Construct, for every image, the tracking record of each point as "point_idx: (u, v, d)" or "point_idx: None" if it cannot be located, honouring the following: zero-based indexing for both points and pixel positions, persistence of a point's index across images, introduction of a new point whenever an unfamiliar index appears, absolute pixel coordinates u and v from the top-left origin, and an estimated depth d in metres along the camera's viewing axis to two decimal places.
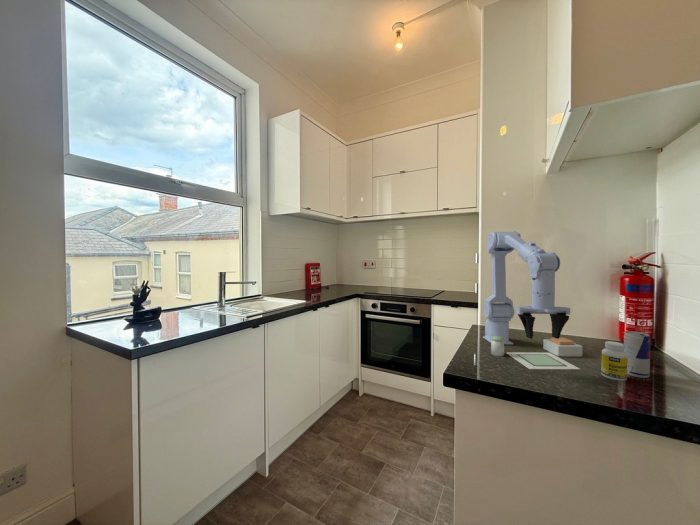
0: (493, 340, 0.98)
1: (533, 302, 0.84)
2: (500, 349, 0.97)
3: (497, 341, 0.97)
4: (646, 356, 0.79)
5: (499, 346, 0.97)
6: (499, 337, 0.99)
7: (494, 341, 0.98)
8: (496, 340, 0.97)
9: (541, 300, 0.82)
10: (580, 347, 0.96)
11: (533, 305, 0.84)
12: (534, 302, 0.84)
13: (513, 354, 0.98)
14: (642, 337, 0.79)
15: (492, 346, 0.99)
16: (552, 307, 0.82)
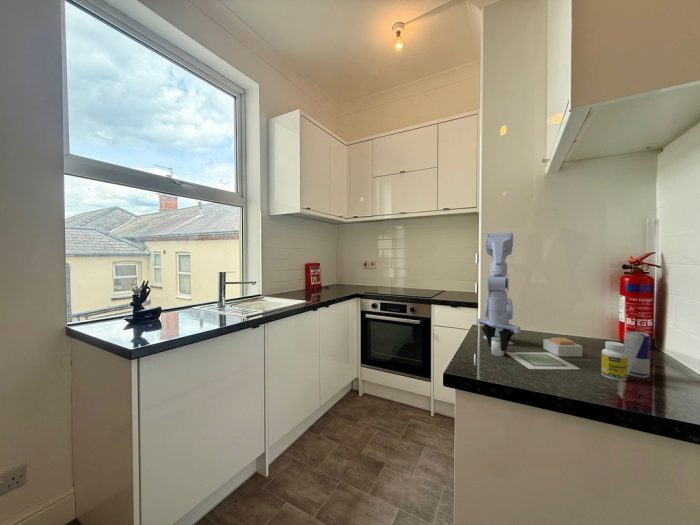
0: (493, 340, 0.98)
1: None
2: (500, 349, 0.97)
3: (497, 341, 0.97)
4: (646, 356, 0.79)
5: (499, 346, 0.97)
6: (499, 337, 0.99)
7: (494, 341, 0.98)
8: (496, 340, 0.97)
9: (489, 315, 0.99)
10: (580, 347, 0.96)
11: None
12: None
13: (513, 354, 0.98)
14: (642, 337, 0.79)
15: (492, 346, 0.99)
16: (496, 323, 0.96)
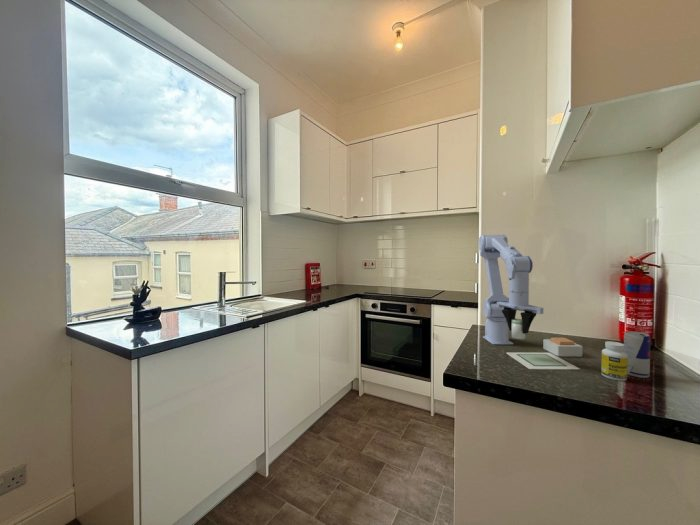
0: (514, 322, 0.95)
1: None
2: (521, 332, 0.93)
3: (518, 323, 0.94)
4: (646, 356, 0.79)
5: (520, 328, 0.93)
6: (520, 320, 0.95)
7: (515, 324, 0.94)
8: (517, 322, 0.94)
9: (509, 297, 0.95)
10: (580, 347, 0.96)
11: None
12: None
13: (513, 354, 0.98)
14: (642, 337, 0.79)
15: (513, 329, 0.95)
16: (517, 304, 0.93)
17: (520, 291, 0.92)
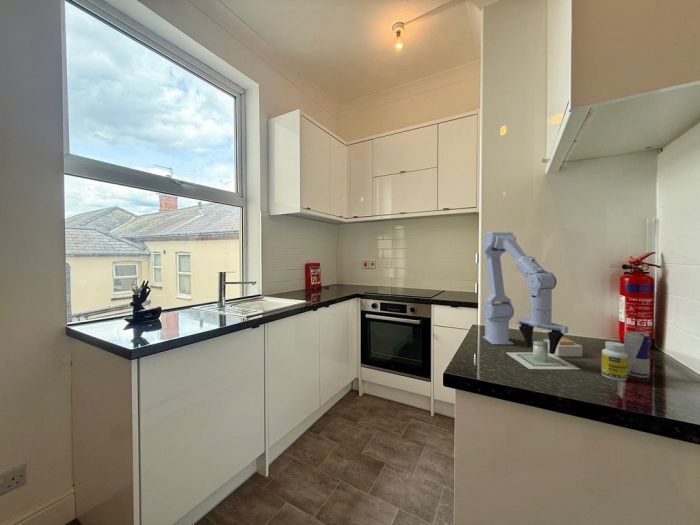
0: (536, 345, 0.92)
1: None
2: (544, 354, 0.90)
3: (541, 346, 0.91)
4: (646, 356, 0.79)
5: (543, 351, 0.90)
6: (542, 341, 0.92)
7: (537, 346, 0.91)
8: (539, 345, 0.91)
9: (531, 315, 0.92)
10: (580, 347, 0.96)
11: None
12: None
13: (513, 354, 0.98)
14: (642, 337, 0.79)
15: (534, 351, 0.92)
16: (540, 322, 0.90)
17: (546, 309, 0.89)
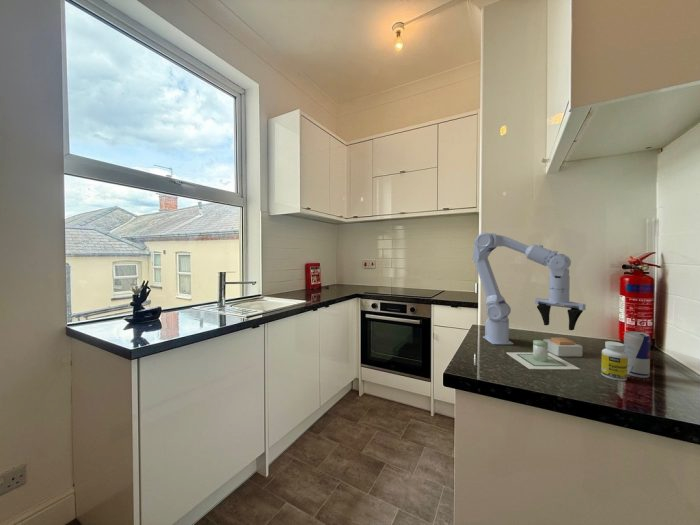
0: (536, 345, 0.92)
1: None
2: (544, 354, 0.90)
3: (541, 346, 0.91)
4: (646, 356, 0.79)
5: (543, 351, 0.90)
6: (542, 341, 0.92)
7: (537, 346, 0.91)
8: (539, 345, 0.91)
9: (550, 294, 0.98)
10: (580, 347, 0.96)
11: None
12: None
13: (513, 354, 0.98)
14: (642, 337, 0.79)
15: (534, 351, 0.92)
16: (559, 301, 0.96)
17: (568, 288, 0.95)
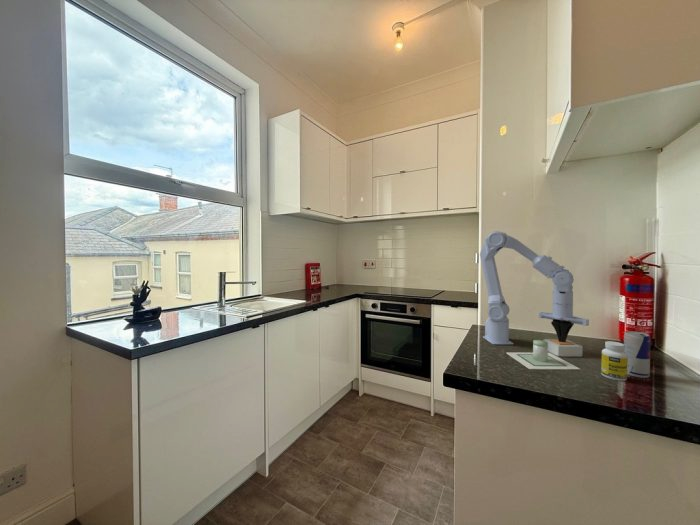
0: (536, 345, 0.92)
1: None
2: (544, 354, 0.90)
3: (541, 346, 0.91)
4: (646, 356, 0.79)
5: (543, 351, 0.90)
6: (542, 341, 0.92)
7: (537, 346, 0.91)
8: (539, 345, 0.91)
9: (554, 309, 1.00)
10: (580, 347, 0.96)
11: None
12: None
13: (513, 354, 0.98)
14: (642, 337, 0.79)
15: (534, 351, 0.92)
16: (562, 316, 0.97)
17: (572, 303, 0.97)
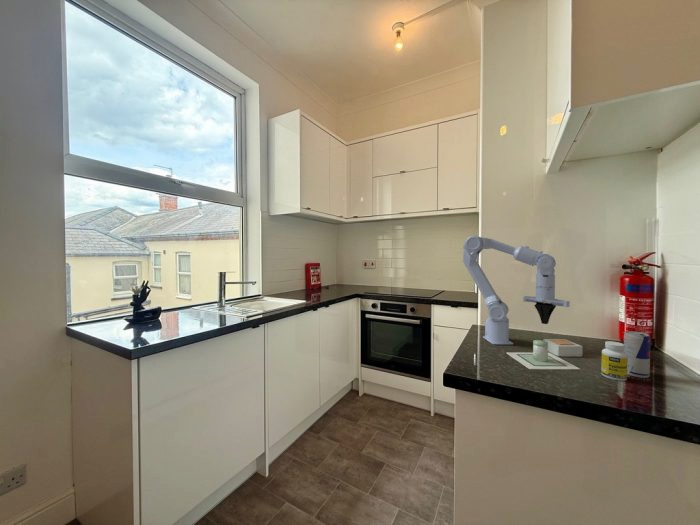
0: (536, 345, 0.92)
1: None
2: (544, 354, 0.90)
3: (541, 346, 0.91)
4: (646, 356, 0.79)
5: (543, 351, 0.90)
6: (542, 341, 0.92)
7: (537, 346, 0.91)
8: (539, 345, 0.91)
9: (537, 292, 1.04)
10: (580, 347, 0.96)
11: None
12: None
13: (513, 354, 0.98)
14: (642, 337, 0.79)
15: (535, 351, 0.92)
16: (545, 298, 1.01)
17: (554, 286, 1.01)
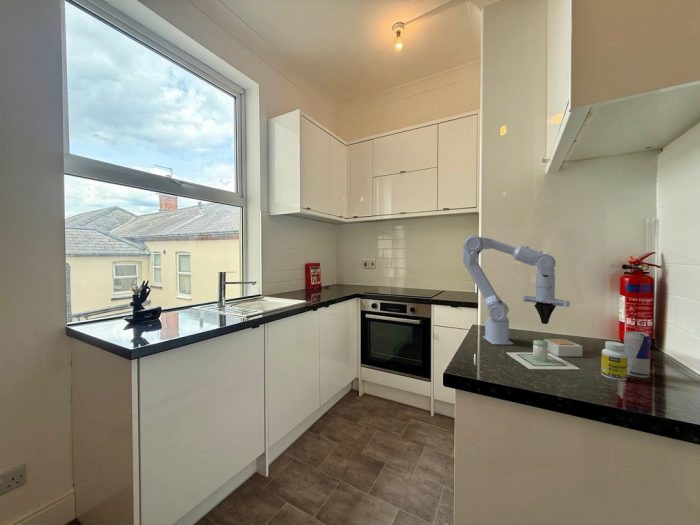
0: (536, 345, 0.92)
1: None
2: (544, 354, 0.90)
3: (541, 346, 0.91)
4: (646, 356, 0.79)
5: (543, 351, 0.90)
6: (542, 341, 0.92)
7: (537, 346, 0.91)
8: (539, 345, 0.91)
9: (537, 292, 1.04)
10: (580, 347, 0.96)
11: None
12: None
13: (513, 354, 0.98)
14: (642, 337, 0.79)
15: (534, 351, 0.92)
16: (545, 298, 1.01)
17: (554, 286, 1.01)
